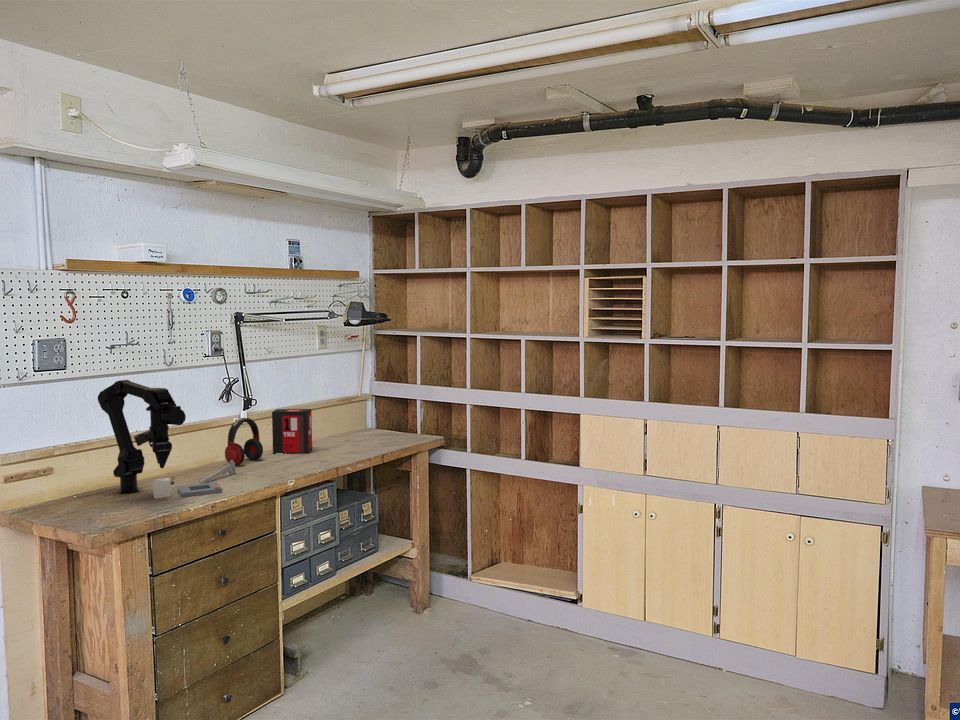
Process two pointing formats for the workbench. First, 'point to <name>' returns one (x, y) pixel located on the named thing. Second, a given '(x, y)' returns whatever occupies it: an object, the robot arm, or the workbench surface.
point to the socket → (199, 489)
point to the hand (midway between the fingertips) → (160, 465)
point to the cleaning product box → (292, 431)
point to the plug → (162, 488)
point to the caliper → (221, 472)
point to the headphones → (251, 446)
